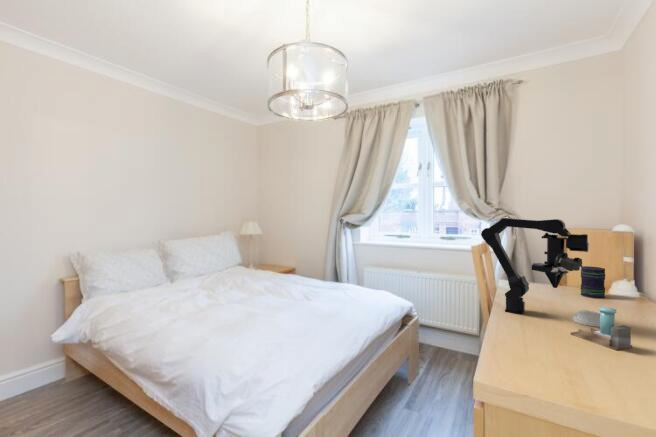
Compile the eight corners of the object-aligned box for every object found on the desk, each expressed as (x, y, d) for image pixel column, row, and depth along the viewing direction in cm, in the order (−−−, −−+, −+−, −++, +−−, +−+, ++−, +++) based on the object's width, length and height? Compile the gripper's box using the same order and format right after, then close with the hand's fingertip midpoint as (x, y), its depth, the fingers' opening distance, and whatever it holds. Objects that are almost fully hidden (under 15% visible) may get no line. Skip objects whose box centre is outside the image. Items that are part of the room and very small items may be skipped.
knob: (594, 338, 105) (594, 307, 105) (603, 337, 106) (603, 306, 106) (611, 344, 100) (611, 311, 100) (620, 343, 101) (620, 310, 101)
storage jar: (600, 295, 164) (601, 267, 164) (608, 299, 155) (609, 270, 155) (577, 293, 168) (577, 265, 168) (583, 297, 159) (584, 268, 159)
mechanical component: (581, 326, 119) (612, 328, 116) (581, 315, 119) (612, 317, 116) (568, 318, 129) (596, 320, 126) (568, 307, 129) (596, 309, 126)
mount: (570, 334, 111) (570, 315, 110) (585, 331, 113) (585, 313, 113) (616, 350, 97) (616, 329, 97) (632, 347, 100) (632, 327, 99)
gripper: (556, 252, 116) (556, 294, 116) (594, 251, 121) (593, 291, 121) (530, 249, 127) (530, 287, 127) (565, 248, 131) (565, 284, 132)
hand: (555, 287), depth 126 cm, fingers closed
